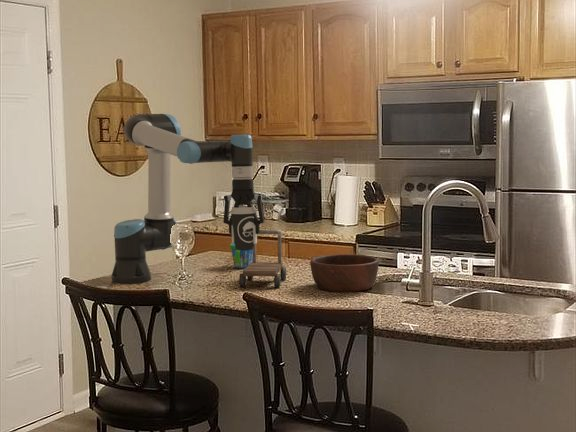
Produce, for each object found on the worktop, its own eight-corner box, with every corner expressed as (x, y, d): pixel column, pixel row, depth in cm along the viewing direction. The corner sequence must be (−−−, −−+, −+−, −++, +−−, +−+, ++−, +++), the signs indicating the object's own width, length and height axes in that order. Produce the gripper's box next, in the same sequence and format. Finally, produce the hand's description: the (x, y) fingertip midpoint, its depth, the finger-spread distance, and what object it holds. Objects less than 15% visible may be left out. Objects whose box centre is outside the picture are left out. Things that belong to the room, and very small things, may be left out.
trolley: (278, 288, 281) (277, 236, 279) (239, 288, 283) (238, 236, 281) (286, 278, 300) (285, 229, 297) (249, 278, 302) (248, 229, 300)
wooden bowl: (343, 278, 300) (343, 251, 299) (392, 286, 282) (392, 259, 281) (296, 287, 284) (296, 259, 282) (346, 297, 265) (345, 267, 264)
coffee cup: (260, 246, 277) (258, 205, 276) (255, 250, 268) (254, 207, 266) (233, 247, 278) (232, 205, 277) (228, 251, 269) (227, 208, 268)
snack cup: (247, 271, 317) (246, 247, 316) (224, 270, 321) (223, 246, 320) (261, 265, 332) (261, 241, 330) (239, 264, 335) (238, 240, 334)
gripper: (212, 179, 269) (214, 244, 271) (268, 178, 265) (270, 244, 268) (217, 178, 276) (220, 241, 278) (272, 177, 273) (274, 241, 275)
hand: (244, 243), depth 273 cm, fingers closed on coffee cup, 7 cm apart
